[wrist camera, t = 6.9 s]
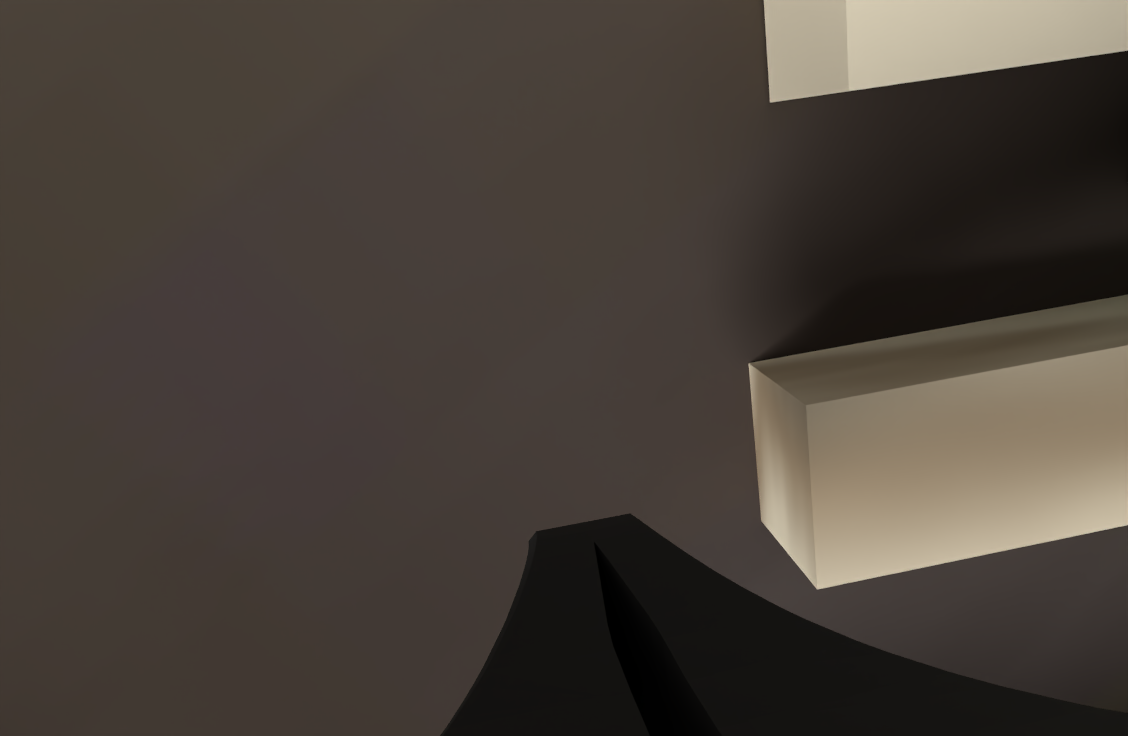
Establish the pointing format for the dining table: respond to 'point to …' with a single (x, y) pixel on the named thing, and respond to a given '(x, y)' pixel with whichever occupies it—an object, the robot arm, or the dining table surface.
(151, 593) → the dining table surface
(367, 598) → the dining table surface
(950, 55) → the endcap with seated slat
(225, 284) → the dining table surface
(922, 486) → the slat
